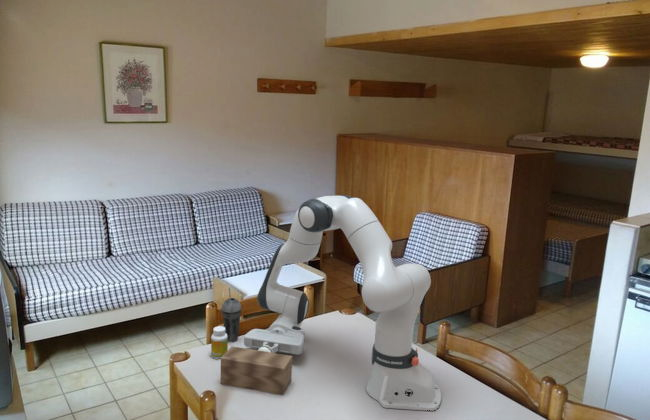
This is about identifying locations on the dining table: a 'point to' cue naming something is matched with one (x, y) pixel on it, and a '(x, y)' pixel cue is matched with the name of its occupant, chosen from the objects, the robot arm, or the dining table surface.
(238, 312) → the beverage cup
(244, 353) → the block
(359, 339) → the dining table surface
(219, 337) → the supplement bottle
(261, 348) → the knob
